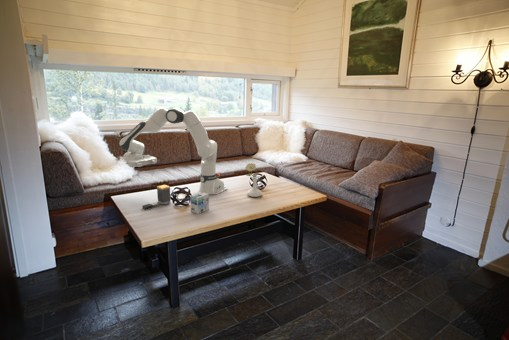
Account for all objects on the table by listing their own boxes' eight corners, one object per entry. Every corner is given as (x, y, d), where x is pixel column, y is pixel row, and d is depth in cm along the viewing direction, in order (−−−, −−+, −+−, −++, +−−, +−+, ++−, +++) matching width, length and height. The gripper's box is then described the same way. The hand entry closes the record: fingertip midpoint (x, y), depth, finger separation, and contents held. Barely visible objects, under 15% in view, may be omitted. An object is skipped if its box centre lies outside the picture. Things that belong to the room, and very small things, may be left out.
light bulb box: (198, 214, 191) (197, 198, 188) (190, 211, 195) (189, 195, 192) (209, 209, 200) (209, 193, 197) (202, 206, 203) (201, 191, 200)
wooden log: (165, 198, 211) (164, 184, 208) (170, 200, 207) (169, 186, 205) (157, 200, 206) (157, 186, 204) (162, 202, 203) (162, 188, 200)
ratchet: (166, 200, 213) (165, 190, 211) (172, 203, 208) (172, 193, 206) (140, 207, 199) (140, 197, 197) (147, 210, 194) (146, 200, 192)
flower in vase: (262, 193, 232) (263, 161, 226) (261, 198, 221) (262, 165, 215) (245, 192, 233) (246, 160, 227) (243, 197, 222) (244, 164, 216)
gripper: (123, 158, 212) (134, 161, 203) (150, 154, 227) (160, 157, 218) (124, 167, 213) (134, 171, 205) (151, 162, 228) (161, 165, 220)
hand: (148, 163), depth 212 cm, fingers open, 8 cm apart
